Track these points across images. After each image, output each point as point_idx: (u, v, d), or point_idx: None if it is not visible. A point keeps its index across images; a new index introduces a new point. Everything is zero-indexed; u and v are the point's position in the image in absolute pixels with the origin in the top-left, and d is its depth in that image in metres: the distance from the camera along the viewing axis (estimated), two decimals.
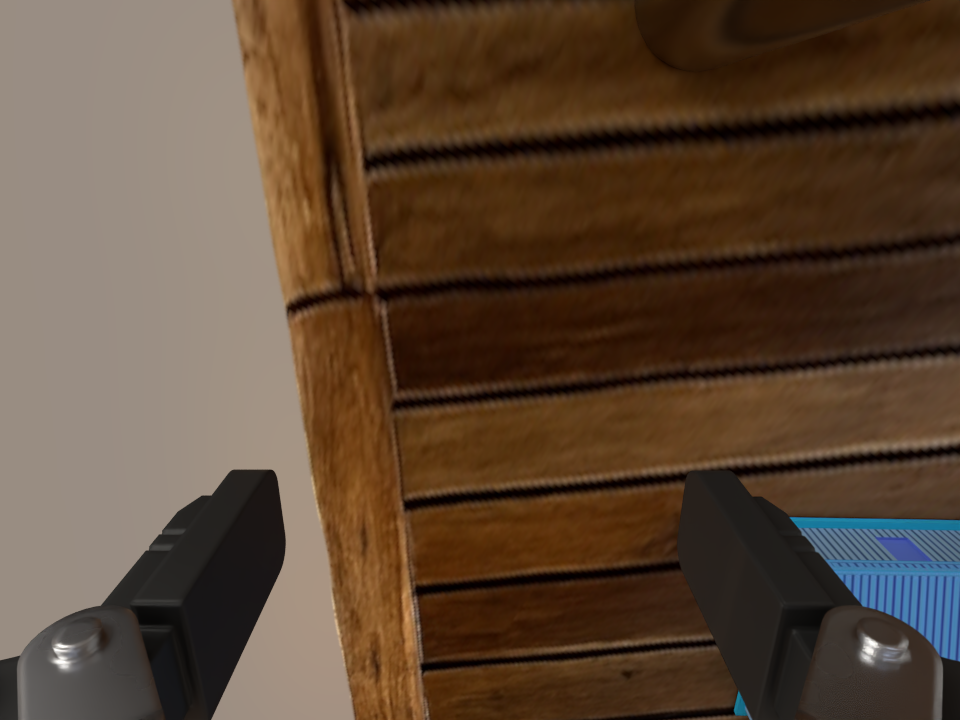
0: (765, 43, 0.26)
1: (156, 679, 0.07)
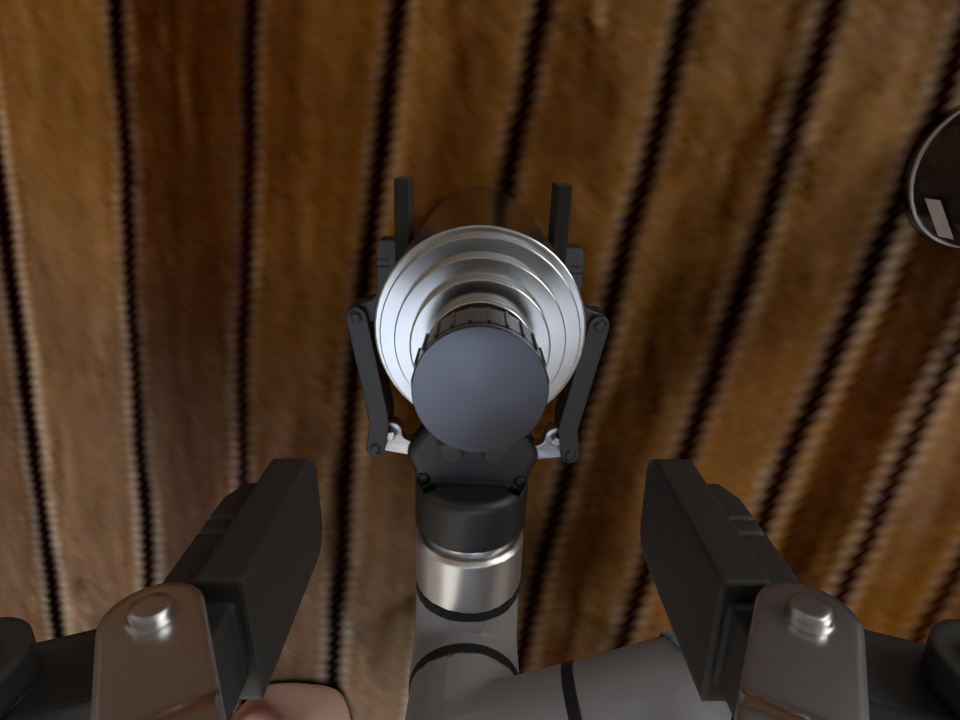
0: None
1: (220, 652, 0.08)
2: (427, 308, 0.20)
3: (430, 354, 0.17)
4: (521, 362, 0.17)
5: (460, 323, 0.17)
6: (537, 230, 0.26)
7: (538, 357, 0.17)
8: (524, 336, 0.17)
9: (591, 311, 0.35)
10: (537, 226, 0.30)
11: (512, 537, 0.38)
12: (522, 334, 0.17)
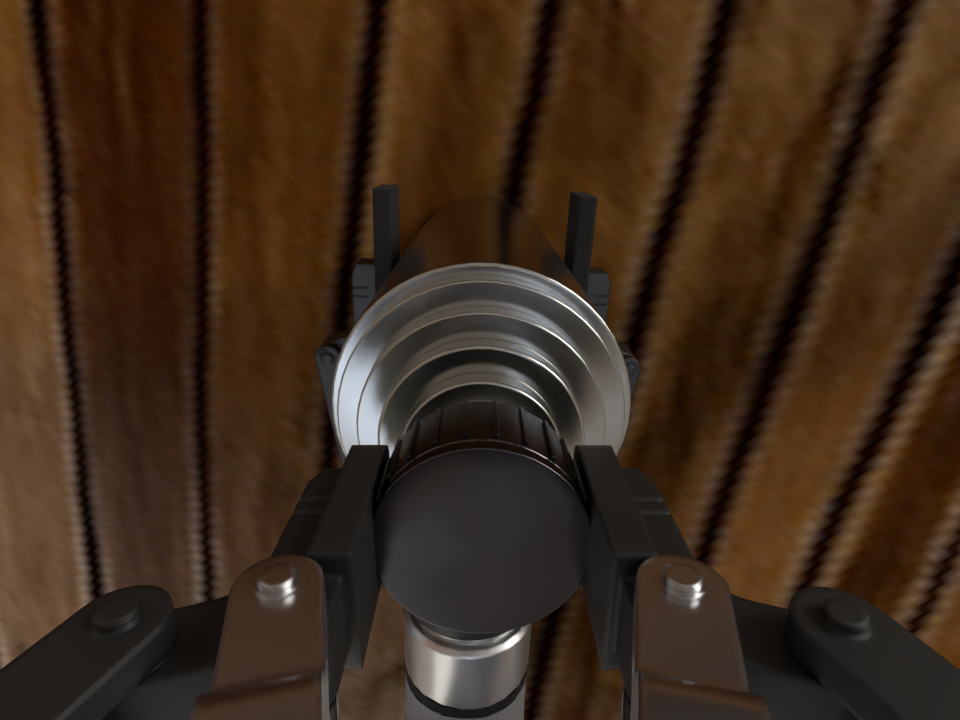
0: None
1: (334, 621, 0.08)
2: (403, 388, 0.14)
3: (399, 492, 0.10)
4: (549, 504, 0.10)
5: (449, 437, 0.10)
6: (557, 259, 0.20)
7: (577, 496, 0.10)
8: (553, 459, 0.10)
9: None
10: (554, 249, 0.24)
11: None
12: (550, 455, 0.10)
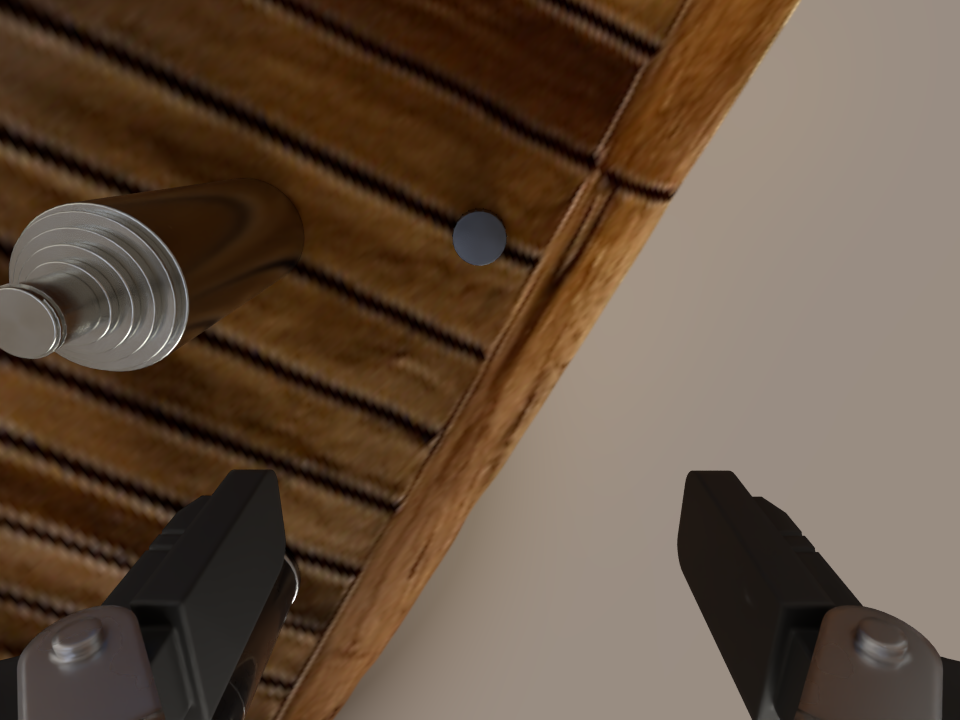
0: (223, 203, 0.35)
1: (156, 679, 0.07)
2: (112, 271, 0.25)
3: (478, 214, 0.43)
4: (499, 242, 0.44)
5: (493, 214, 0.43)
6: None
7: (504, 245, 0.44)
8: (506, 236, 0.44)
9: None
10: None
11: None
12: (506, 235, 0.44)
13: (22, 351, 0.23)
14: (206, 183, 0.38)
